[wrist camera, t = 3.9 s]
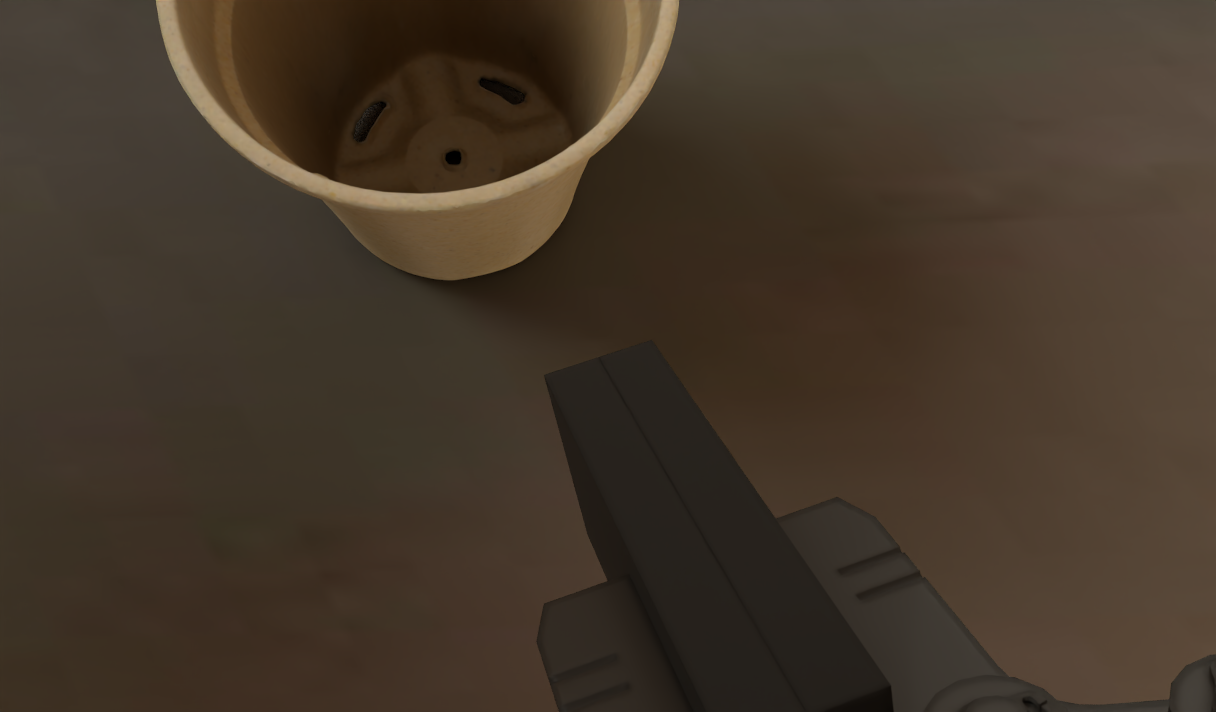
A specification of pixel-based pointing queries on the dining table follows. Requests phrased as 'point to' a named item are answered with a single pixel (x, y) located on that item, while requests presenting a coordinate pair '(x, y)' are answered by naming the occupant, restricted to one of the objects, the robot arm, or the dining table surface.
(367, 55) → the flower pot
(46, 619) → the dining table surface
